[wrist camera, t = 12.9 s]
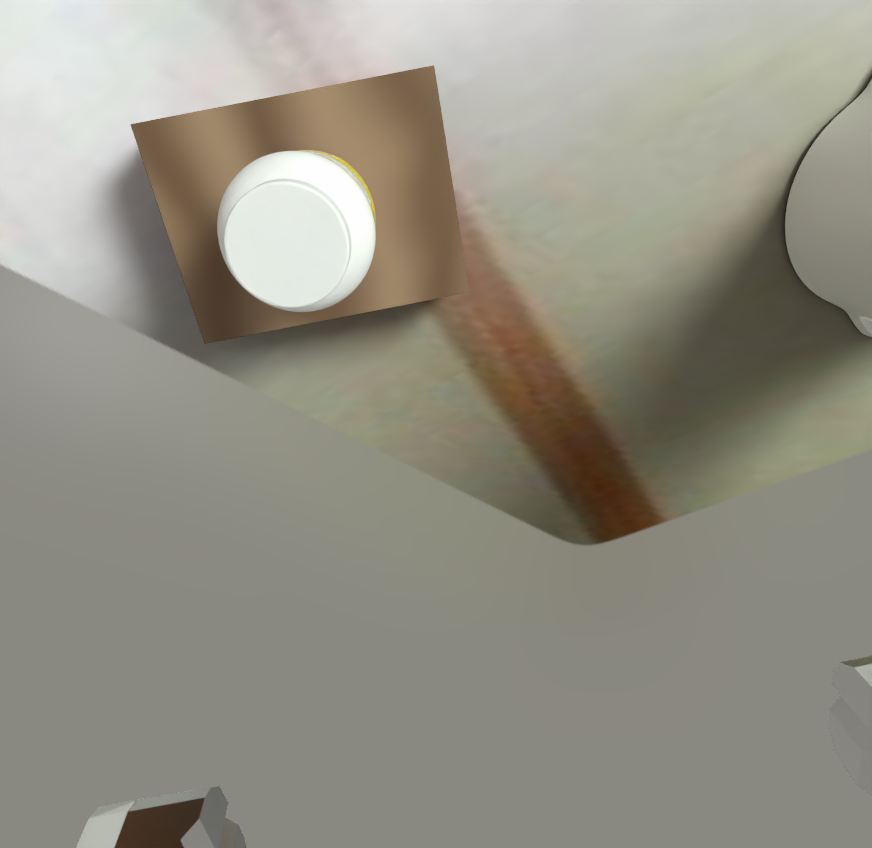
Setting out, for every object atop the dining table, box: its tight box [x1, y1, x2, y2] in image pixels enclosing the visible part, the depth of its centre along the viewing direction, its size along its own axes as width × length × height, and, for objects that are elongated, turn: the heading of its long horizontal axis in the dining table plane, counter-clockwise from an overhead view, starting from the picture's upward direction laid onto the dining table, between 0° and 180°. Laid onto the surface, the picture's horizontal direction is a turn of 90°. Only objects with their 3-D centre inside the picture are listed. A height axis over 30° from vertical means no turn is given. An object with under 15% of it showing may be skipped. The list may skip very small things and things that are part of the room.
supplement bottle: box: [217, 150, 376, 312], centre depth 30 cm, size 7×7×13 cm
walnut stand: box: [131, 66, 469, 344], centre depth 38 cm, size 16×12×5 cm
